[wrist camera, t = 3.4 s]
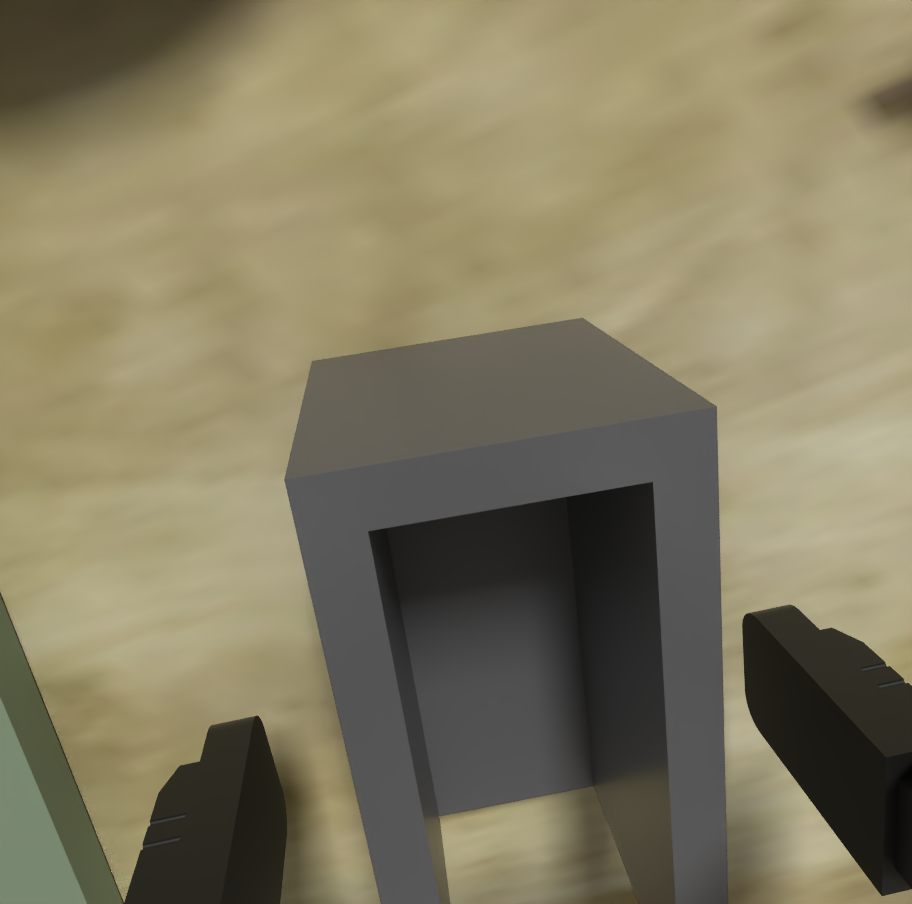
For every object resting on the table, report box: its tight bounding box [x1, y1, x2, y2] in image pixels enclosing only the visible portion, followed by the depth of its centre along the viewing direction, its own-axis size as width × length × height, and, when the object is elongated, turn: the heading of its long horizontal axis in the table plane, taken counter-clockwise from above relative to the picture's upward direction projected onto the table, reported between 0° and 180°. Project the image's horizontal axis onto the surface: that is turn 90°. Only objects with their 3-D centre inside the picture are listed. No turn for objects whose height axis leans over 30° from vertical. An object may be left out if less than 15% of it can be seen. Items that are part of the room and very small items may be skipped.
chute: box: [285, 318, 728, 904], centre depth 14 cm, size 10×5×6 cm, turn 8°
